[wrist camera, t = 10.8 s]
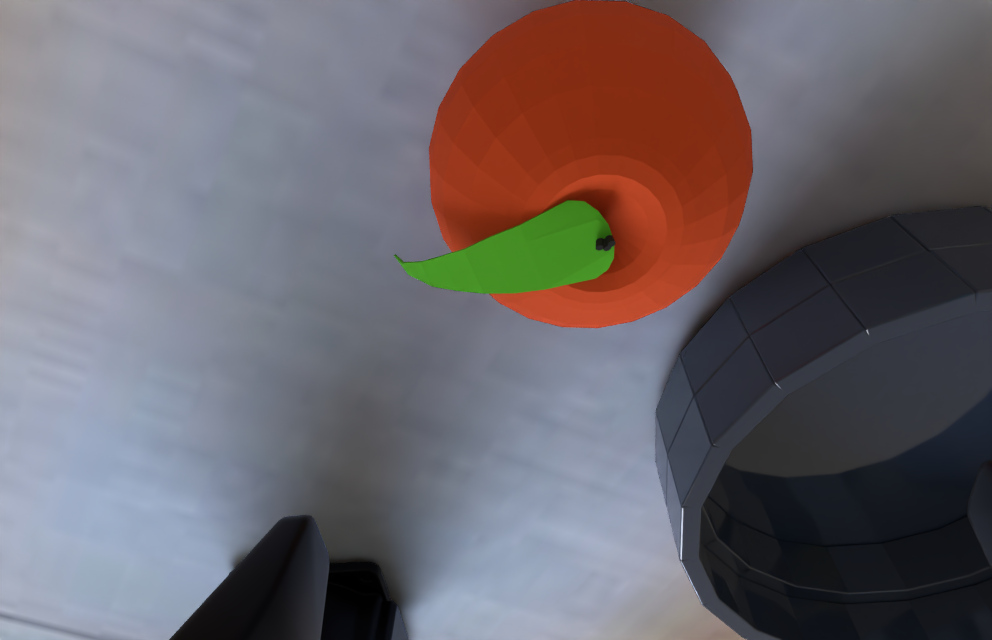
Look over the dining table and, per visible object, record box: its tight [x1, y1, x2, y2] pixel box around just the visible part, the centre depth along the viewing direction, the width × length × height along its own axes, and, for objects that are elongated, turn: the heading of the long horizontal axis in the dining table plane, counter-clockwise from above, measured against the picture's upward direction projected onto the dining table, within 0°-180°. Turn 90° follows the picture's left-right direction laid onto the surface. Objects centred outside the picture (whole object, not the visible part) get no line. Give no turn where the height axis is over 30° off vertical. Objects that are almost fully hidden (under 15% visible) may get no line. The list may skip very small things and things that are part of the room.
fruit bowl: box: [655, 206, 992, 640], centre depth 21 cm, size 15×15×4 cm
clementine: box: [394, 0, 753, 328], centre depth 15 cm, size 8×7×7 cm
